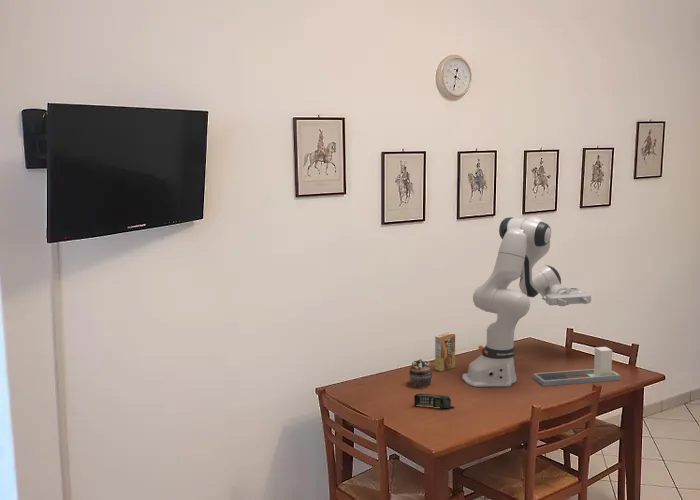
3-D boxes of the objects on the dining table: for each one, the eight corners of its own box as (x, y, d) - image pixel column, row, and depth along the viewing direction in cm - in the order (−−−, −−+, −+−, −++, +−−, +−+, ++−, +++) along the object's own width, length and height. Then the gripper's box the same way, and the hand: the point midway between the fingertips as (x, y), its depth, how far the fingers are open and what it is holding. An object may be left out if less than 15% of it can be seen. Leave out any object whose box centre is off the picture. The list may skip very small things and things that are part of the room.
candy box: (448, 365, 299) (448, 332, 297) (455, 367, 296) (455, 334, 293) (434, 369, 293) (434, 335, 291) (441, 371, 290) (441, 337, 288)
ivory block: (600, 378, 277) (601, 351, 276) (593, 374, 282) (594, 347, 281) (611, 377, 278) (612, 350, 276) (604, 374, 283) (605, 346, 281)
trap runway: (543, 386, 271) (543, 381, 270) (532, 378, 280) (532, 373, 280) (620, 379, 276) (620, 375, 276) (606, 372, 286) (607, 367, 286)
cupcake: (404, 385, 275) (404, 361, 273) (418, 378, 282) (418, 356, 280) (423, 390, 268) (423, 366, 267) (437, 383, 275) (437, 360, 274)
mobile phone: (413, 395, 251) (453, 397, 247) (415, 392, 254) (454, 394, 250) (414, 407, 252) (453, 410, 247) (415, 404, 254) (454, 407, 250)
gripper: (540, 290, 305) (554, 297, 291) (581, 288, 308) (597, 294, 294) (540, 304, 305) (554, 311, 292) (581, 301, 309) (597, 308, 295)
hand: (576, 302), depth 293 cm, fingers open, 8 cm apart
